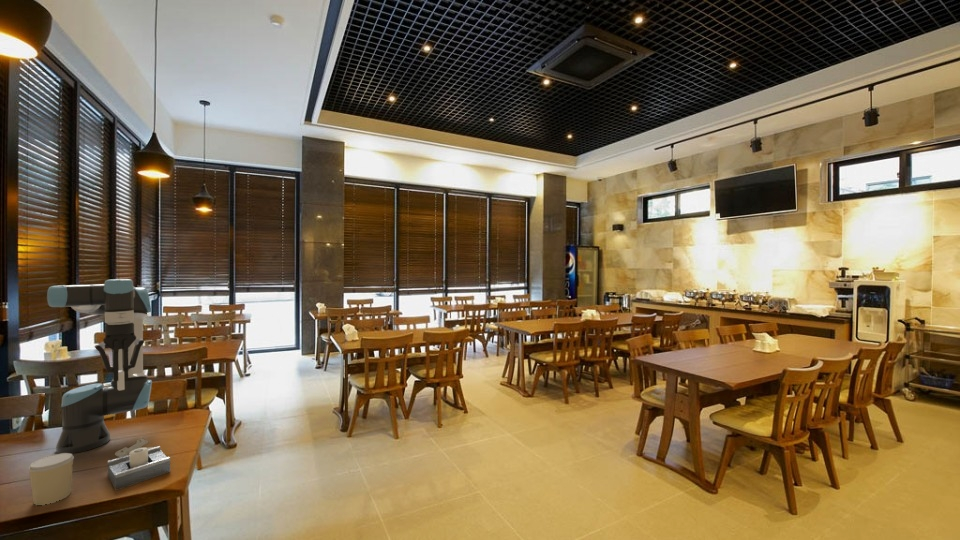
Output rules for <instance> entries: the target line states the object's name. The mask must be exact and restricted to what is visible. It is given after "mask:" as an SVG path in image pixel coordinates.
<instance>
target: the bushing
mask: <svg viewBox="0 0 960 540" xmlns="http://www.w3.org/2000/svg"><path fill="white" fill-rule="evenodd" d="M128 455H129V459H130V469H131V468H134V467H137V466H140V465H143V464H147V463H148V447H146V446H145V447H140V448H138V449H135V450H132V451H131V452H130V453H129V454H128Z"/></svg>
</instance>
